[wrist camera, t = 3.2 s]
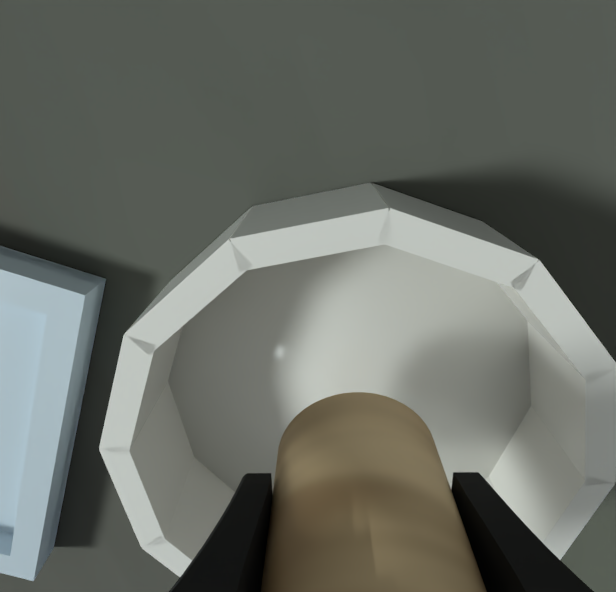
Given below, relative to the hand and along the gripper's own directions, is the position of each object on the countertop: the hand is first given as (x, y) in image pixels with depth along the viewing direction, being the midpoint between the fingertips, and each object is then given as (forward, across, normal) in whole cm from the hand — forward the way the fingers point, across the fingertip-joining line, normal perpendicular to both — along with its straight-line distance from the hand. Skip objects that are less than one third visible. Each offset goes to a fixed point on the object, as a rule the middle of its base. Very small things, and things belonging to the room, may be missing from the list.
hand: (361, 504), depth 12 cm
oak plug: (+2, 0, 0) cm, 2 cm away
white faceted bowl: (+5, 0, 0) cm, 5 cm away
